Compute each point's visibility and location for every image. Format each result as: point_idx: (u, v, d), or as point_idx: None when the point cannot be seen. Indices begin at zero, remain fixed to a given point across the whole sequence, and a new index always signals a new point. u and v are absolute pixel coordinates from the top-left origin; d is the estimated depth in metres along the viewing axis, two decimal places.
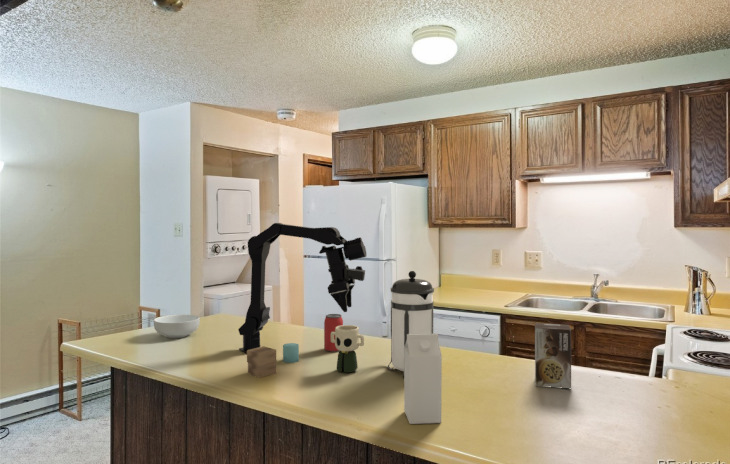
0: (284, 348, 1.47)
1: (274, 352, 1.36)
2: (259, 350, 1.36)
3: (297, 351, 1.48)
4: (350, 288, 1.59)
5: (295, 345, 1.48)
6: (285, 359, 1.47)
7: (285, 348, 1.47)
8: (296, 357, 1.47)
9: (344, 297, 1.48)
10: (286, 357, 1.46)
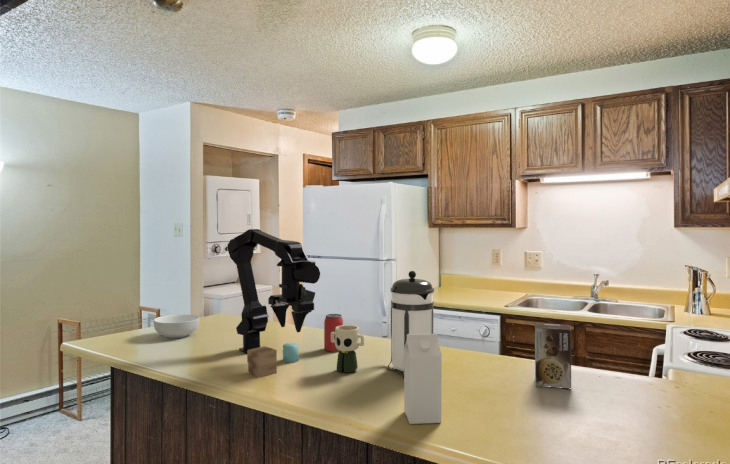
0: (284, 348, 1.47)
1: (274, 352, 1.36)
2: (259, 350, 1.36)
3: (297, 351, 1.48)
4: (286, 307, 1.53)
5: (295, 345, 1.48)
6: (285, 359, 1.47)
7: (285, 348, 1.47)
8: (296, 357, 1.47)
9: (303, 317, 1.44)
10: (286, 357, 1.46)
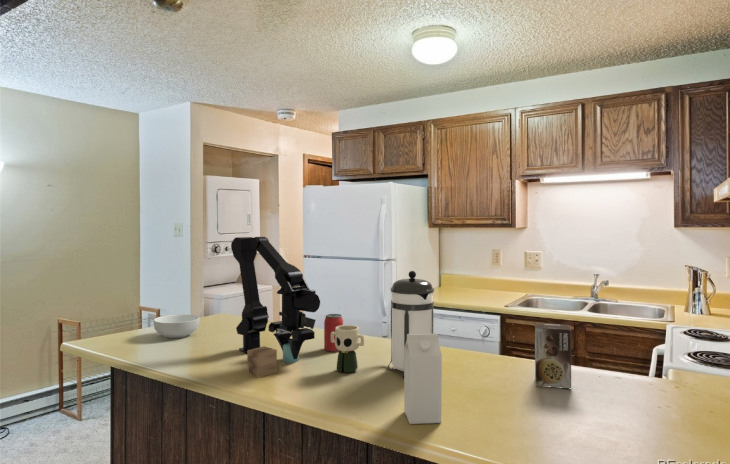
0: (284, 348, 1.47)
1: (274, 352, 1.36)
2: (259, 350, 1.36)
3: None
4: (289, 335, 1.52)
5: None
6: (285, 359, 1.47)
7: (285, 348, 1.47)
8: None
9: (300, 344, 1.46)
10: (286, 357, 1.46)
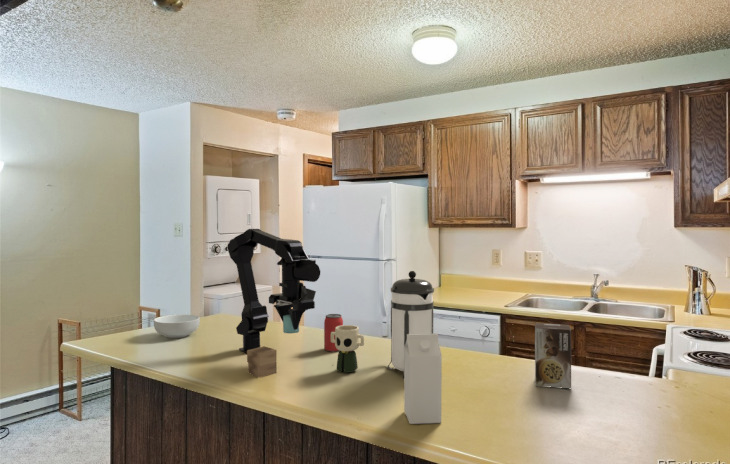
0: (284, 319, 1.47)
1: (274, 352, 1.36)
2: (259, 350, 1.36)
3: None
4: (290, 307, 1.52)
5: None
6: (285, 330, 1.46)
7: (285, 319, 1.46)
8: None
9: (300, 314, 1.46)
10: (286, 328, 1.46)
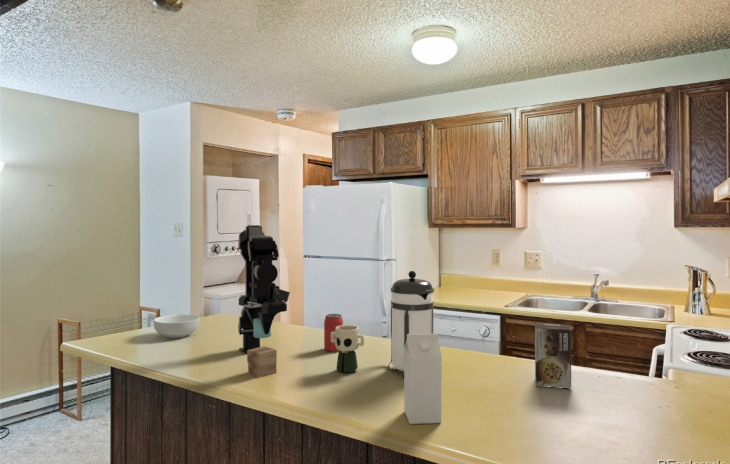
0: (254, 322, 1.34)
1: (274, 352, 1.36)
2: (259, 350, 1.36)
3: None
4: (261, 309, 1.39)
5: None
6: (255, 334, 1.34)
7: (255, 322, 1.34)
8: None
9: (272, 318, 1.34)
10: (256, 332, 1.34)
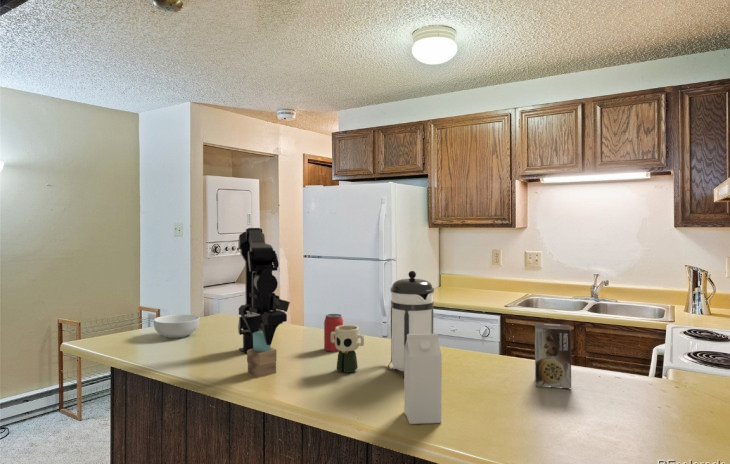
0: (254, 336, 1.34)
1: (274, 352, 1.36)
2: None
3: None
4: (259, 318, 1.40)
5: None
6: (255, 348, 1.34)
7: (255, 336, 1.34)
8: (267, 346, 1.35)
9: (274, 328, 1.33)
10: (256, 346, 1.34)
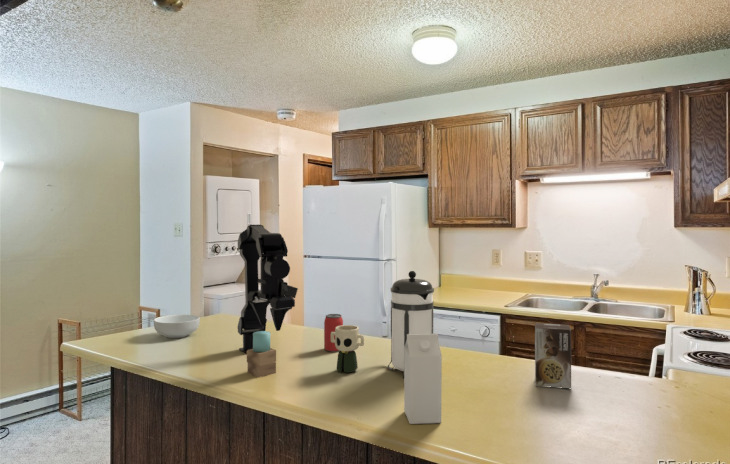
0: (254, 336, 1.35)
1: (274, 352, 1.36)
2: None
3: (268, 339, 1.36)
4: (267, 304, 1.43)
5: (266, 333, 1.36)
6: (255, 348, 1.34)
7: (255, 336, 1.34)
8: (267, 346, 1.35)
9: (283, 314, 1.34)
10: (255, 346, 1.34)
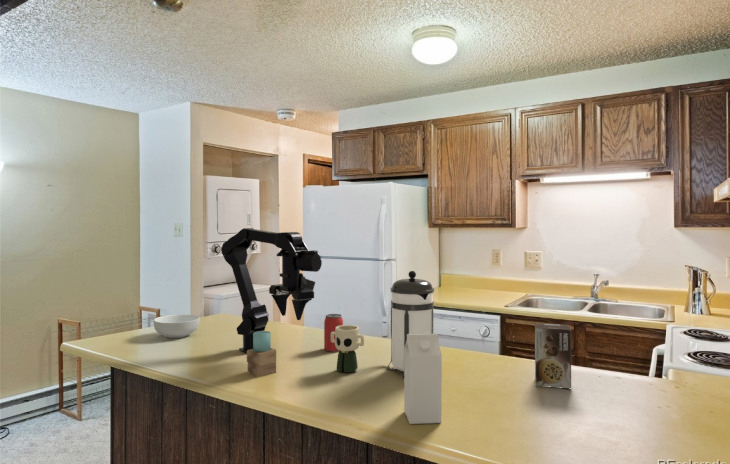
0: (254, 336, 1.35)
1: (274, 352, 1.36)
2: None
3: (269, 339, 1.36)
4: (287, 296, 1.57)
5: (266, 333, 1.36)
6: (255, 348, 1.34)
7: (255, 336, 1.34)
8: (267, 346, 1.35)
9: (304, 305, 1.48)
10: (256, 346, 1.34)
